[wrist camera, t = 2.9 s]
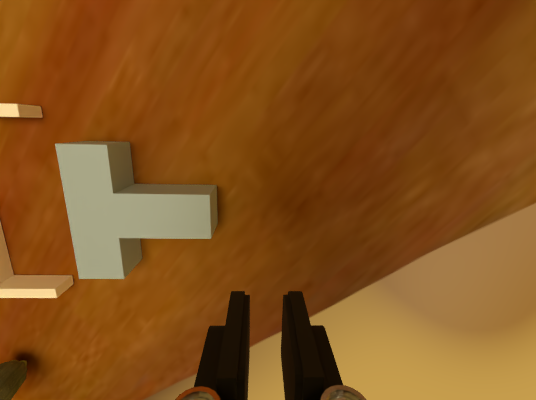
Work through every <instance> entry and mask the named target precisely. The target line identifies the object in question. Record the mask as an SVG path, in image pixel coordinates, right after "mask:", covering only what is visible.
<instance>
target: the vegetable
mask: <svg viewBox="0 0 536 400" xmlns="http://www.w3.org/2000/svg"><path fill="white" fill-rule="evenodd" d="M26 372H27V361H24V360H22V361H17V360H12V361H9V362H4V363H2V364H0V400H11V399H12V398H13V396H14V395H15V393H16V392H17V390H18V389H19V387H20V386H21V385H22V383H23V382H24V381H25V379H26Z"/></svg>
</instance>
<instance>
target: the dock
mask: <svg viewBox="0 0 536 400" xmlns="http://www.w3.org/2000/svg"><path fill="white" fill-rule="evenodd" d="M0 117H30V118H43V115H42V110H41V106H33V105H22V104H0ZM73 284H74V282H73V277H72V275H14V274H13V270H12V266H11V262H10V258H9V254H8V250H7V246H6V242H5V238H4V234H3V230H2V226H1V222H0V298H57V297H59V296H60V295H61V294H62V293H63V292H65V291H66V290H67V289H68V288H69V287H70V286H72V285H73Z"/></svg>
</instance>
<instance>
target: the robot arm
mask: <svg viewBox="0 0 536 400" xmlns="http://www.w3.org/2000/svg"><path fill="white" fill-rule="evenodd" d="M249 340H250V295H245V291H231V295H230V301H229V307H228V313H227V319H226V325H225V326H210V327H209V329H208V333H207V337H206V341H205V345H204V349H203V353H202V357H201V361H200V365H199V369H198V373H197V377H196V380H195V385H194V387H193V388H191V389H188V390H186V391H184V392H183V393H182V394H180V395H179V396H178V397H177V398H176V399H175V400H247V398H248V374H249ZM281 360H282V371H283V382H284V392H285V400H366V399H365V398H364V397H363V395H362V394H360V393H359V392H358V391H356V390H355V389H353V388H351V387H348V386H344V385H343V383H342V380H341V377H340V374H339V371H338V368H337V365H336V362H335V358H334V355H333V352H332V349H331V346H330V343H329V340H328V337H327V334H326V331H325V328H324V326H311V325H310V321H309V317H308V313H307V309H306V305H305V301H304V297H303V293H302V291H289V292H288V295H283V314H282V340H281Z"/></svg>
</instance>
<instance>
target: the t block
mask: <svg viewBox="0 0 536 400" xmlns="http://www.w3.org/2000/svg"><path fill="white" fill-rule="evenodd" d="M55 146H56V151H57V157H58V162H59V168H60V174H61V179H62V185H63V190H64V196H65V202H66V207H67V213H68V218H69V224H70V229H71V235H72V241H73V246H74V252H75V257H76V263H77V269H78V274H79V279H125V277H126V276H127V275H128V274H129V273H130V272H131V271H132V269H133V268H134V267H135V266H136V265H137V264H138V263H139V262H140V260H141V259H142V251H141V241H140V238H171V239H211V238H212V236H213V233H214V231H215V229H216V226H217V224H218V212H217V185H182V184H134V177H133V168H132V158H131V149H130V142H107V141H81V142H70V143H58V144H55Z"/></svg>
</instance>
